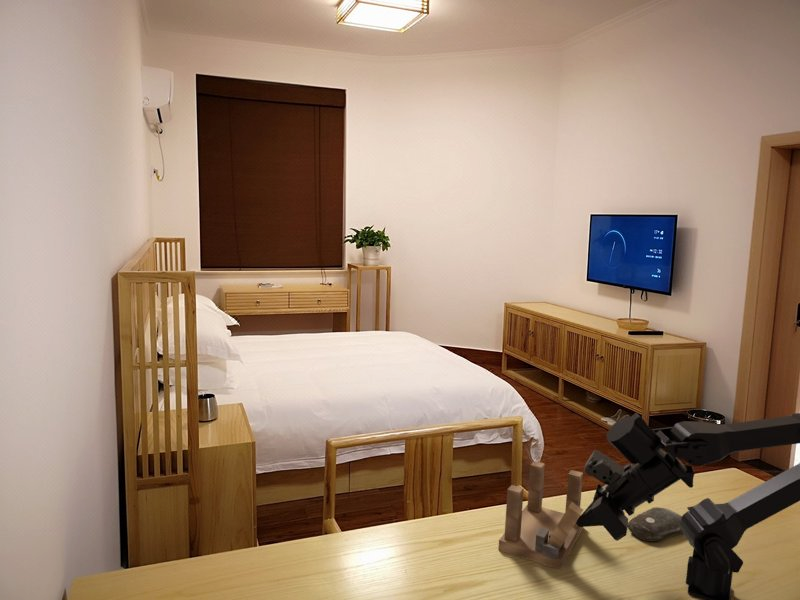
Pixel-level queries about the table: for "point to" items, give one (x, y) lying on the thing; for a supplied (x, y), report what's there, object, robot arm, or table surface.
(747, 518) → the robot arm
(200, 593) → the table surface
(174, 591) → the table surface
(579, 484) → the stool seat
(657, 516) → the stone
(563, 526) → the folding leg
